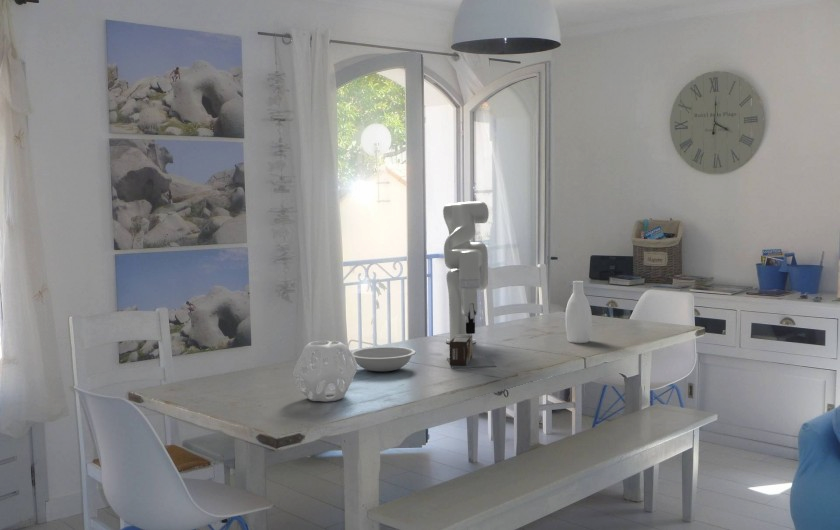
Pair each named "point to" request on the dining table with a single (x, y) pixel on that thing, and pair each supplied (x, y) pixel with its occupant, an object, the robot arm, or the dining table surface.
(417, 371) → the dining table surface
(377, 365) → the soup bowl
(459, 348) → the coffee box
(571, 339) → the bottle
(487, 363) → the slate mat
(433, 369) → the dining table surface
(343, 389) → the decorative ball
